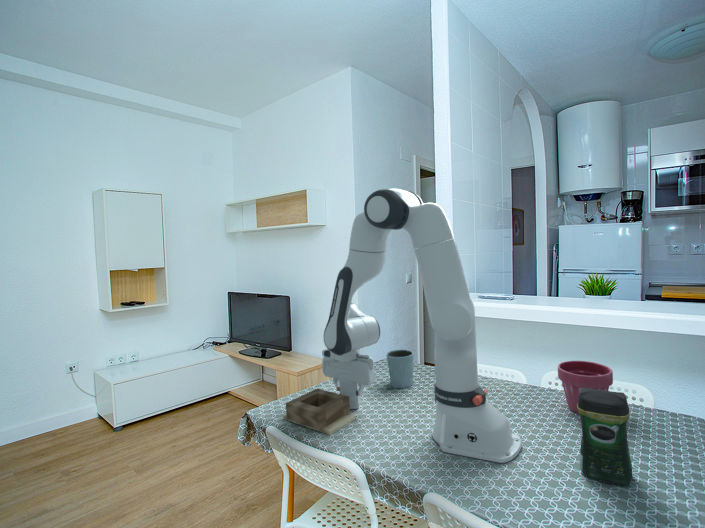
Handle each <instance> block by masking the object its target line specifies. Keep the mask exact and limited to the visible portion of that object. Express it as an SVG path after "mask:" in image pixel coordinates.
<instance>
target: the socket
mask: <svg viewBox="0 0 705 528" xmlns="http://www.w3.org/2000/svg"><path fill="white" fill-rule="evenodd" d="M285 411H286V413H285V414H283V415H282V420H285V421H289V422H292V423H295V424H297V425H300V426H304V427H307V428H309V429H312V430H314V431H318V432H320V433H323V434H326V435H329V436H330V435H332V434H333V433H336V432H337V431H338V430H340V429H342V428H344V427H345V426H346V425H348V424H350V423H351V422H353V421H354V420H356V417H357V416H356V415H355V414H352V413H351V409H350V403H349V396H345V395H341V394H340V393H336V392H333V391H330V390H326V389H325V390H324V389H321V388H315V389H313V390H311V391H309V392H307V393H304V394H303V395H300V396H298V397H296V398H293V399H292V400H290V401H287V402H286V403H285Z"/></svg>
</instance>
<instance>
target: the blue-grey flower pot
mask: <svg viewBox="0 0 705 528" xmlns="http://www.w3.org/2000/svg"><path fill="white" fill-rule="evenodd" d="M386 361H387V366H388V374H389V382H390V385H391V387H393V388H396V389H406V388H411V387H413V385H414V351H412V350H409V349H394V350H390V351H387V352H386Z"/></svg>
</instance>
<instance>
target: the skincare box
mask: <svg viewBox="0 0 705 528" xmlns="http://www.w3.org/2000/svg"><path fill="white" fill-rule="evenodd" d="M338 375H339V387H340V391H339V394H341V395H345V396H349V403H350V410H359V408H360V405H361V403H360V396H356V390H358V389H359V386H358V383H354V382H349V381H347V375H346V373H342V372H339V374H338Z"/></svg>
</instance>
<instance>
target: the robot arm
mask: <svg viewBox="0 0 705 528" xmlns="http://www.w3.org/2000/svg"><path fill="white" fill-rule="evenodd" d="M402 229H403V230H405V231H407V233H408V235H409V237H410V239H411V242H412V243H411V244H412V247H413V251H414V254H415V259H416V262H417V266H418V269H419V273H420V277H421V282H422V288H423V292H424V294H423V295H424V299H425V302H426V308H427V312H428V316H429V321H430V325H431V328H432V330H433V331H434V357H433V358H434V374H435V375H434V376H435V383H434V392H433V393H434V402H435V419H434V425H433V430H432V433H431V434H432V435H431V436H432V438H433V440H434V441H435V442H436V444H438V445H439V447H440V450H441V451H442V452H444V453H448V454H453V455H458V456H463V457H469V458H474V459H480V460H483V461H484V460H485V461H489V462H495V463H500V464H505V463H508V462H510V461H512V460H514V459H515V458H516V457H517V456H518V455H519V453H520V452H521V450H522V446H523V445H522V439H521V437H520V436H519V435H518V434H515V433H513V432H512V428H511V424H510V421H509V419H508V418H507V416H506V415H504V414H503V413H502V412H500V411H499V410H498V409H497V408H495V407H494V405H492V404H491V403H490V402H489V401H487V394H488V392H489V391H488V388H485V389H483V388H482V387H481V386H480V384H479V374H478V373H479V372H478V357H477V338H476V337H477V334H476V333H477V332H476V311H475V306H474V302H473V301H472V298H471V296H470V292H469V288H468V284H467V280H466V276H465V273H464V268H463V264H462V261H461V257H460V253H459V250H458V246H457V241H456V239H455V235H454V232H453V228H452V226H451V224H450V221H449V218H448V217H447V215H446V213H445V210H444V209H443V207H442V206H441V205H440V204H438V203H434V202H426V203H425V202H423V200H422V198H421V197H420V196H419V195H418V194H417V193H415V192H412V191H410V190H403V189H400V188H382V189H378V190H376V191H374V192H372V193H370V195H368V196H367V198H366V200H365V202H364V206H363V212H360V213H358V214H357V215H356V216H355V217H354V219H353V223H352V227H351V231H350V239H349V245H348V246H349V248H348V255H347V259H346V261H345V263H344V265H343V266H342V268H341V269H340V270H339V272H338V274H337V277H336V282H335V284H334V285H335V286H334V292H333V294H332V299H331V300H332V301H331V305H330V309H329V310H330V311H329V316H328V320H327V323H326V326H325V328H324V332H323V343H324V346H325V347H326V349H323V350H322V351H321V355H322V361H321V366H322V374H323V376H324V377H327V378H332V381H333V383H334V385H335V387H336V392H340V387H339V375H338V374H339V372H342V373H346V375H347V381H349V382H354V383H358V386H359V389H358V390H356V396H359V398H361V397H362V396H363V395H364V393H363V392H364V388H365V386H368V387H369V386H370V385H372V384H374V383H375V382H376V380H377V379H376V371H375V367H374V360H373V358H372V357H370V355H367V354H362V353H361V349H363V348H366V347H367V348H368V347H370V346H372V345H375V344H377V343H378V341H379V340H380V337H381V327H380V324H379V322H378V320H377V318H375V317H374V316H372V315H368V314H367V313H364V312H363V311H361V310H360V309H359V308H358V306H357V305H356V304H355V303H352V301H353V297H354V295H355V294H356V292H357V291H358V290H359V289H360V288H361V287H362V286H364V285H365V284H366V283H368V282H370V281H371V280H373V279H375V278H377V277H378V276H379V275H380V274H381V273H382V271H383V269H384V267H385V263H386V258H387V243H388V241H387V240H388V237H389V235H390V233H391V232H392V231H393V230H394V231H395V230H396V231H397V230H402Z"/></svg>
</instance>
